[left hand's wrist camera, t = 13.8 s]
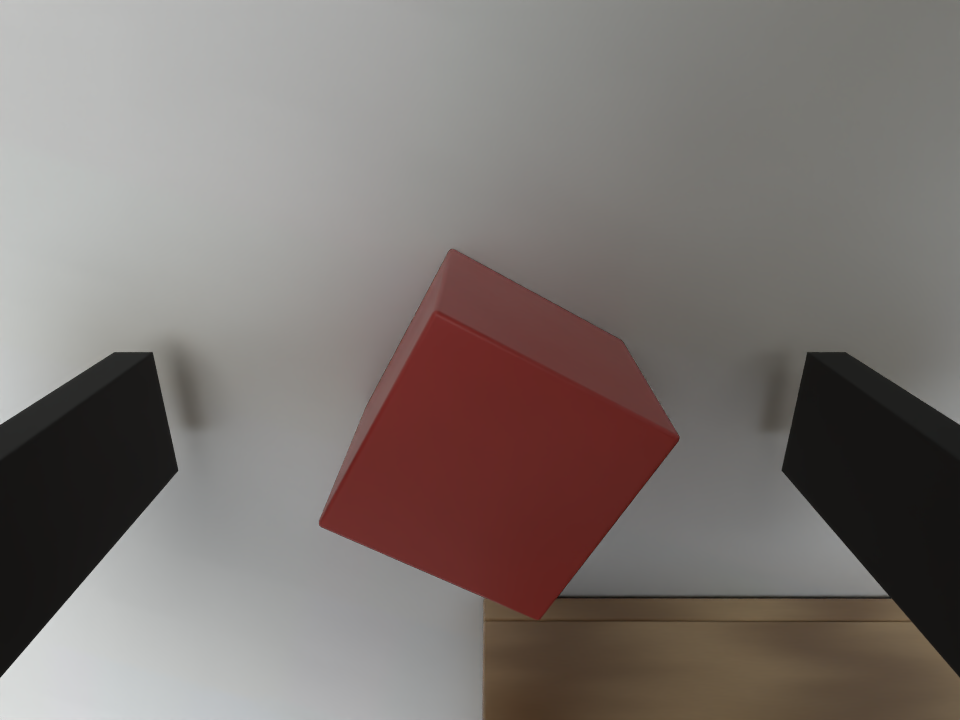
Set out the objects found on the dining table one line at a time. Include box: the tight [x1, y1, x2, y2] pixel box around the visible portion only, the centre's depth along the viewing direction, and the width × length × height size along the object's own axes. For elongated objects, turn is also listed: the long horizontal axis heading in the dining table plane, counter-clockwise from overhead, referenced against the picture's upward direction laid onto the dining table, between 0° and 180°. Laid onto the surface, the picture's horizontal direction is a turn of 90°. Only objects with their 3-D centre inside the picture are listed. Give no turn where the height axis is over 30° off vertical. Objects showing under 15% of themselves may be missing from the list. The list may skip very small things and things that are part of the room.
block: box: [319, 249, 679, 620], centre depth 12 cm, size 4×4×4 cm
